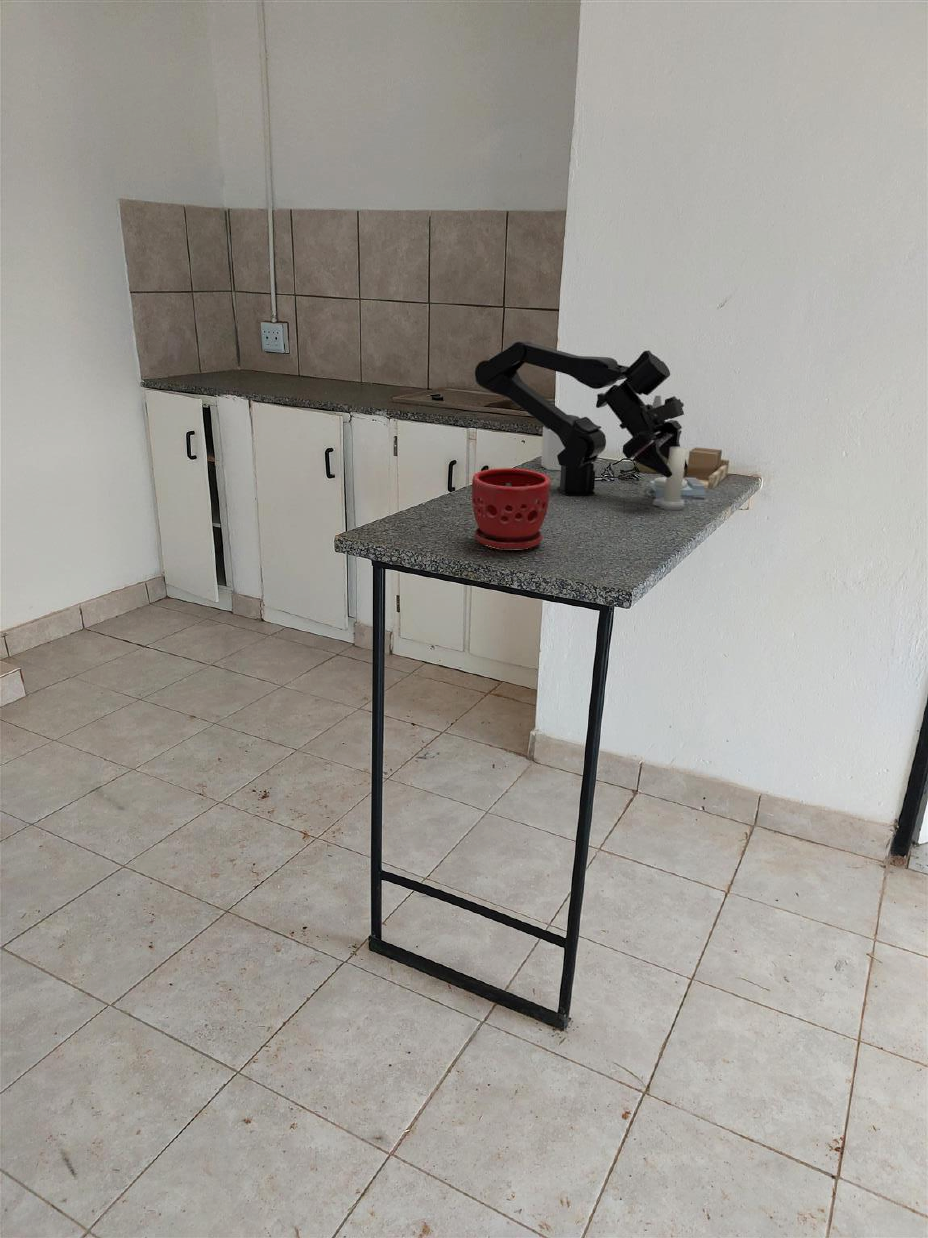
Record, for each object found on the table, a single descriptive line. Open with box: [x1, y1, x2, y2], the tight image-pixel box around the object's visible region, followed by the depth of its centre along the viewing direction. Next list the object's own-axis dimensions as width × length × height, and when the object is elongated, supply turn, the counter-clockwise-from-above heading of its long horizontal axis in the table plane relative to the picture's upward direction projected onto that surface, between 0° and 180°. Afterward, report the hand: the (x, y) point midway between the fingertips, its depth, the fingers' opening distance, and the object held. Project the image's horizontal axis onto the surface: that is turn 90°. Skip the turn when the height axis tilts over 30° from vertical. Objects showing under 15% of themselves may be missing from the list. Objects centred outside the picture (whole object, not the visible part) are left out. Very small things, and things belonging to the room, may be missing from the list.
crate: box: [686, 446, 723, 480], centre depth 203 cm, size 6×6×6 cm
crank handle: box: [652, 446, 687, 512], centre depth 179 cm, size 6×5×12 cm
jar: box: [540, 414, 580, 472], centre depth 213 cm, size 9×8×12 cm
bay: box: [683, 458, 730, 490], centre depth 201 cm, size 16×9×4 cm, turn 153°
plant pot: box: [471, 467, 551, 549], centre depth 152 cm, size 13×13×12 cm
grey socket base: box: [649, 476, 706, 501], centre depth 191 cm, size 10×8×3 cm
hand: (678, 472), depth 178 cm, fingers open, 9 cm apart
